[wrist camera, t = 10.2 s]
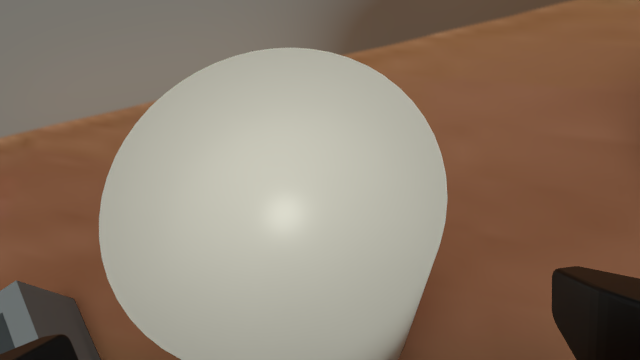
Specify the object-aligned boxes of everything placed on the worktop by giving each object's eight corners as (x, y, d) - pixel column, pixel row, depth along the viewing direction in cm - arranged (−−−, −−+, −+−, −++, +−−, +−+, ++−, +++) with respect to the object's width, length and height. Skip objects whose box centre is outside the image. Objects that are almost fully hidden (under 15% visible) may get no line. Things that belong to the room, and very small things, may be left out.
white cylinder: (420, 380, 17) (495, 340, 6) (286, 401, 18) (86, 406, 6) (392, 249, 19) (403, 21, 8) (273, 269, 20) (108, 80, 8)
